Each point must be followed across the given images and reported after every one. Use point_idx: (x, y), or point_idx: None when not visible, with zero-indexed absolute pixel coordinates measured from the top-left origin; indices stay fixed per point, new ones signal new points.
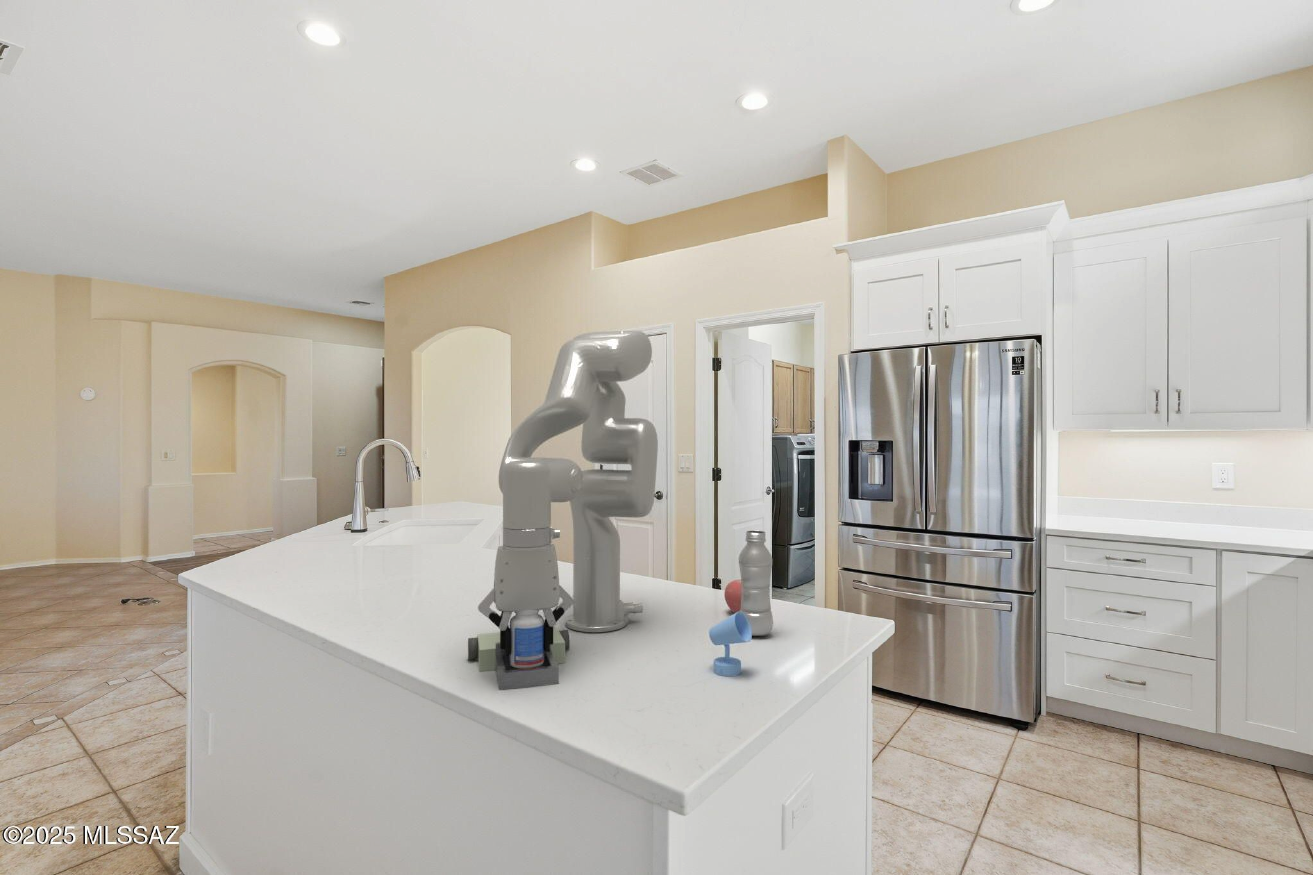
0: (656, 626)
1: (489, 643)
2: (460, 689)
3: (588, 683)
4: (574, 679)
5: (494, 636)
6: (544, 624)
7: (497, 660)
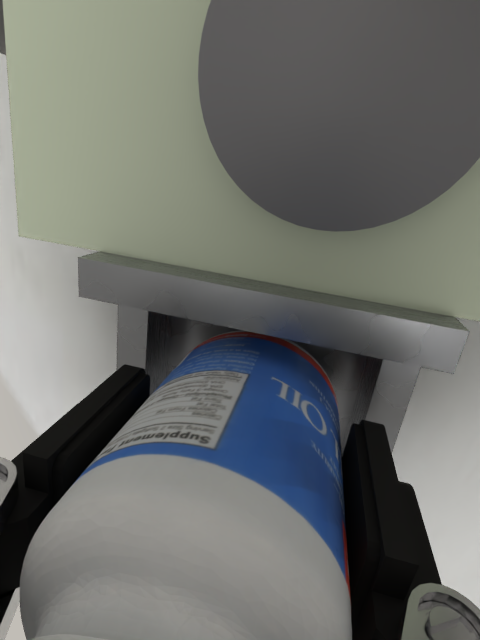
0: None
1: (72, 121)
2: (28, 373)
3: (458, 551)
4: (429, 494)
5: None
6: (366, 589)
7: (120, 340)
